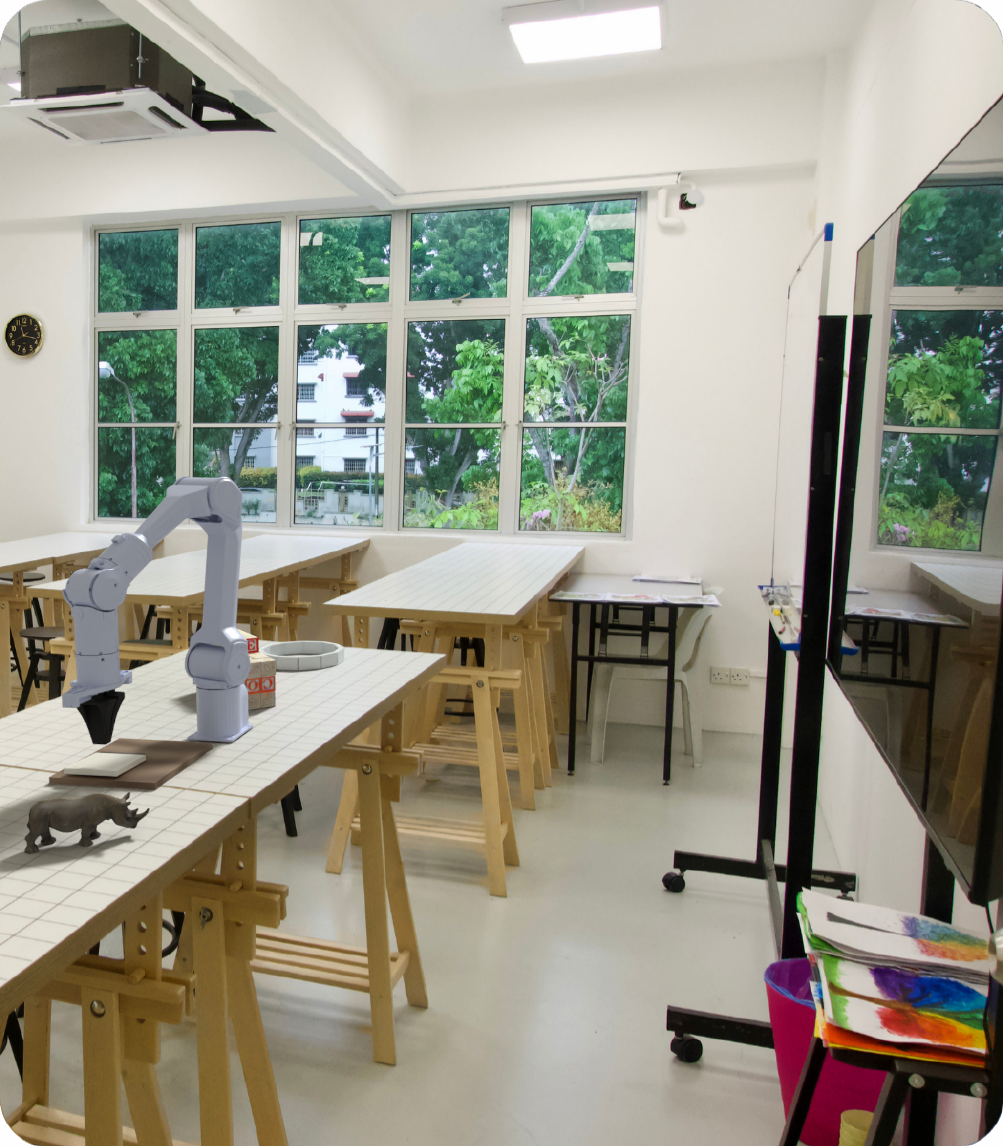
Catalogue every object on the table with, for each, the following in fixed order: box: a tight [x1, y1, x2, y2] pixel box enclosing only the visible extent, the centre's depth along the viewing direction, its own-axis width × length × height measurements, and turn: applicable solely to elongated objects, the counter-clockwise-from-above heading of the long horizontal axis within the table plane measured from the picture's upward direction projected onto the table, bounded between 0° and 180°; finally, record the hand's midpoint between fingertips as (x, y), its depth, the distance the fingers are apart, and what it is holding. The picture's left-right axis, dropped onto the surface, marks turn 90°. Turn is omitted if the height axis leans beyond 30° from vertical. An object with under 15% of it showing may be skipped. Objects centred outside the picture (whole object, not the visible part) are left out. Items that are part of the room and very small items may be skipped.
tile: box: [63, 752, 146, 776], centre depth 126 cm, size 8×8×1 cm
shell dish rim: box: [259, 640, 345, 671], centre depth 204 cm, size 20×20×3 cm
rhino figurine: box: [24, 791, 150, 854], centre depth 103 cm, size 4×14×6 cm, turn 112°
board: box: [48, 737, 214, 791], centre depth 130 cm, size 18×16×2 cm
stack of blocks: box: [213, 628, 277, 711], centre depth 171 cm, size 21×6×12 cm, turn 36°
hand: (101, 743), depth 124 cm, fingers closed
